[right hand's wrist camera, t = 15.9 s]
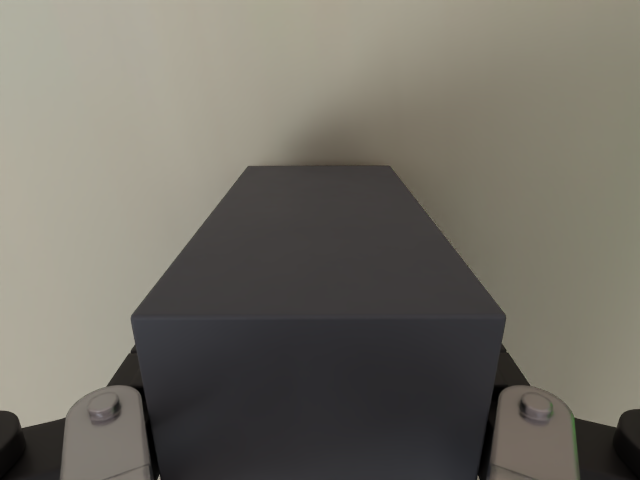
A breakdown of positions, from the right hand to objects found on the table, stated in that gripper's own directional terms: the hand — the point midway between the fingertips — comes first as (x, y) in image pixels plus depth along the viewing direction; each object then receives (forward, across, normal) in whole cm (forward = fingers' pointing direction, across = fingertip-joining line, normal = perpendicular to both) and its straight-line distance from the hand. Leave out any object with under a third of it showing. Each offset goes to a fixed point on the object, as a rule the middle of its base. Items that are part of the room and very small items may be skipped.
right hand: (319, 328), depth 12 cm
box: (+7, 0, -10) cm, 12 cm away
